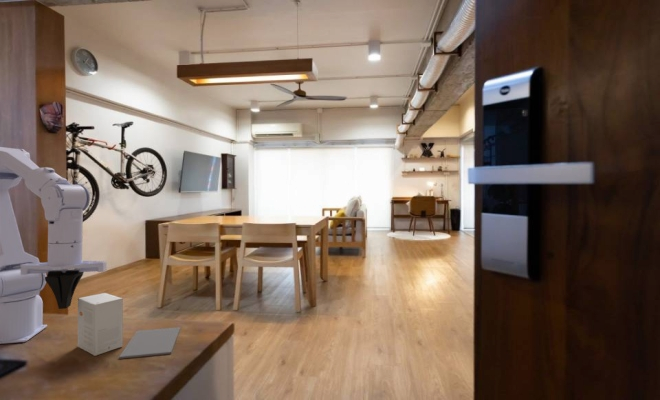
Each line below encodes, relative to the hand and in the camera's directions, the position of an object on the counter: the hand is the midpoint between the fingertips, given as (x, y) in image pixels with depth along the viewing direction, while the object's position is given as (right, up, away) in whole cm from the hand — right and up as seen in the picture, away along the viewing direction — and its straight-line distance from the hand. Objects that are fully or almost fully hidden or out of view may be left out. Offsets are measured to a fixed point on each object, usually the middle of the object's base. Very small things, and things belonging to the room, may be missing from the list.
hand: (64, 307), depth 72 cm
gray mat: (+16, -9, +5) cm, 19 cm away
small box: (+6, -9, +2) cm, 11 cm away
